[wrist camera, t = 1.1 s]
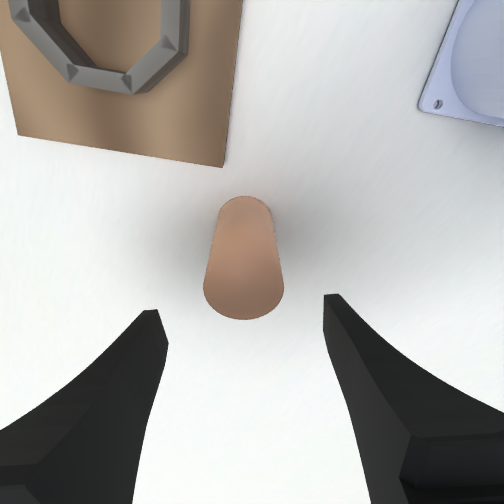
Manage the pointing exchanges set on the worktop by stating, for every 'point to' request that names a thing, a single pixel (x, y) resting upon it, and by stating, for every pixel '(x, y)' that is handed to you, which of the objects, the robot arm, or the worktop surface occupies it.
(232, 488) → the worktop surface
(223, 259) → the peg
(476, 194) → the worktop surface
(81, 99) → the holder
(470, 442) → the robot arm
